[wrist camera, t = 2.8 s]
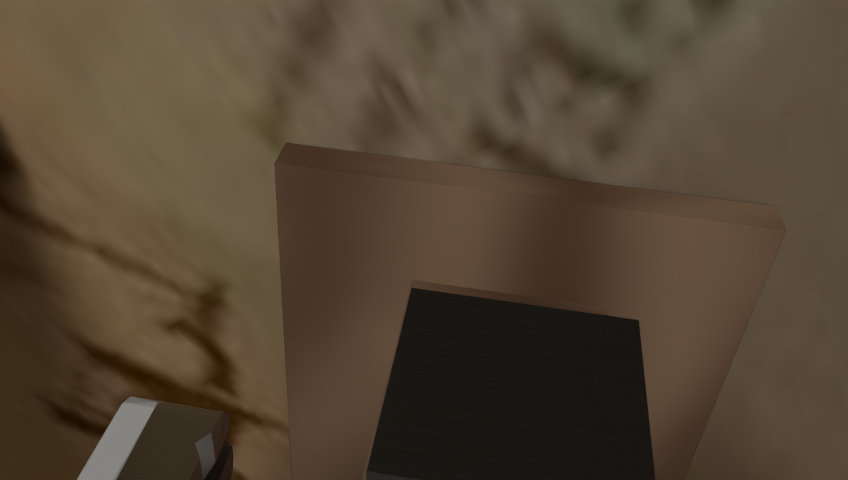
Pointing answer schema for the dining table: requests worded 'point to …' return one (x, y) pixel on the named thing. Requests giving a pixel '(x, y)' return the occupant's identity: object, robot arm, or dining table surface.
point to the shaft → (512, 395)
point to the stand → (500, 282)
